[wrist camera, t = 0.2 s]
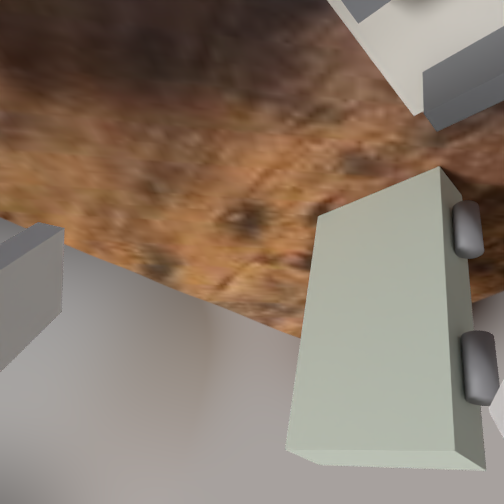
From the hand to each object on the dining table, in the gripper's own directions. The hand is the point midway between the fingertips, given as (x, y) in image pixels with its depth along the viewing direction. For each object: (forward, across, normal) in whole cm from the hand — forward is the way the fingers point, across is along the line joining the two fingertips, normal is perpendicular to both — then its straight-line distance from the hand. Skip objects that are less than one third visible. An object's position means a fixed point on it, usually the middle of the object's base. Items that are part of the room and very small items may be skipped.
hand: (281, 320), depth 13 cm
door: (+19, +6, -1) cm, 20 cm away
